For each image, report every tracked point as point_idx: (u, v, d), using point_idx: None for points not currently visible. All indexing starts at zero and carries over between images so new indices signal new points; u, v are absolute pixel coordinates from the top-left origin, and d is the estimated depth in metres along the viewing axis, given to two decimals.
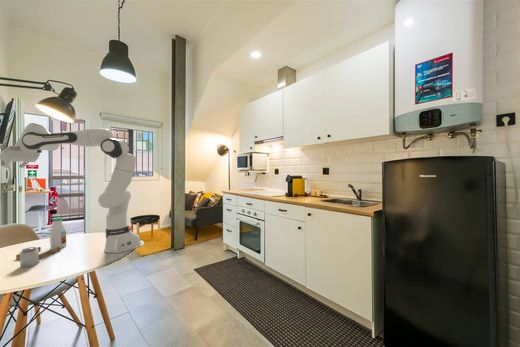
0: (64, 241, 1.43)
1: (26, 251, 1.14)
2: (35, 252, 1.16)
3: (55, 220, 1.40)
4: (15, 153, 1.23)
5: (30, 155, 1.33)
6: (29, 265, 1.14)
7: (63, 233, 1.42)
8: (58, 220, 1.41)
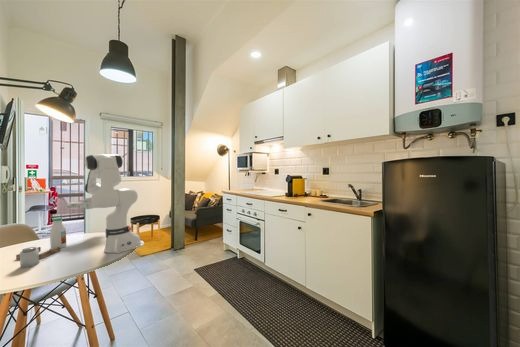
0: (64, 241, 1.43)
1: (26, 251, 1.14)
2: (35, 252, 1.16)
3: (55, 220, 1.40)
4: (77, 202, 1.64)
5: None
6: (29, 265, 1.14)
7: (63, 233, 1.42)
8: (58, 220, 1.41)
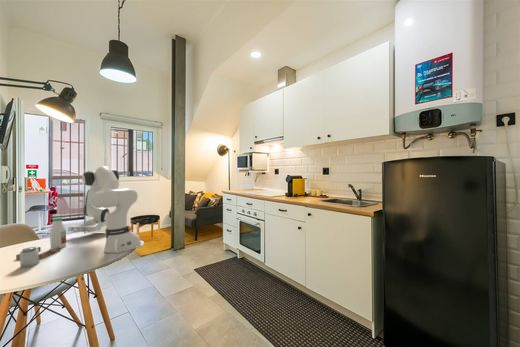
0: (64, 241, 1.43)
1: (26, 251, 1.14)
2: (35, 252, 1.16)
3: (55, 220, 1.40)
4: (78, 225, 1.65)
5: (90, 225, 1.64)
6: (29, 265, 1.14)
7: (63, 233, 1.42)
8: (58, 220, 1.41)
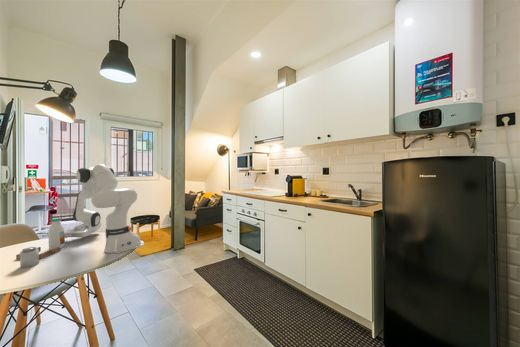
0: (62, 242, 1.42)
1: (26, 251, 1.14)
2: (35, 252, 1.16)
3: (53, 220, 1.39)
4: (67, 230, 1.55)
5: (79, 230, 1.54)
6: (29, 265, 1.14)
7: (62, 233, 1.41)
8: (57, 220, 1.40)
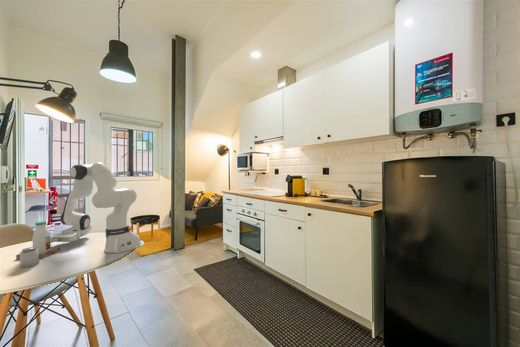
0: (48, 247, 1.33)
1: (26, 251, 1.14)
2: (35, 252, 1.16)
3: (38, 224, 1.30)
4: (54, 234, 1.46)
5: (67, 234, 1.45)
6: (29, 265, 1.14)
7: (47, 238, 1.32)
8: (42, 224, 1.31)
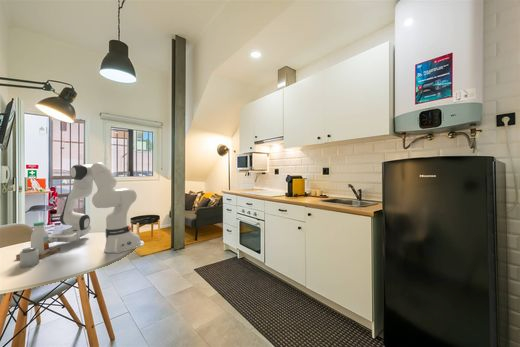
0: (46, 247, 1.32)
1: (26, 251, 1.14)
2: (35, 252, 1.16)
3: (37, 225, 1.29)
4: (54, 234, 1.46)
5: (67, 235, 1.45)
6: (29, 265, 1.14)
7: (46, 239, 1.31)
8: (40, 225, 1.30)
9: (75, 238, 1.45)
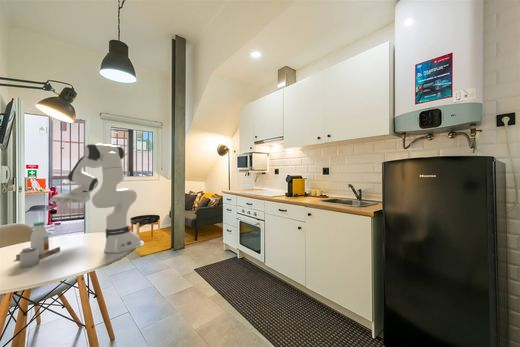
0: (46, 247, 1.32)
1: (26, 251, 1.14)
2: (35, 252, 1.16)
3: (37, 225, 1.29)
4: (63, 194, 1.52)
5: (79, 195, 1.53)
6: (29, 265, 1.14)
7: (46, 239, 1.31)
8: (40, 225, 1.30)
9: (88, 199, 1.55)
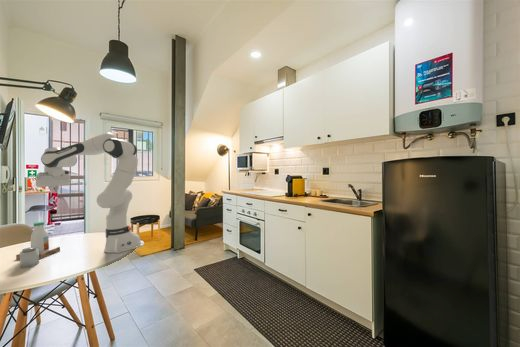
0: (46, 247, 1.32)
1: (26, 251, 1.14)
2: (35, 252, 1.16)
3: (37, 225, 1.29)
4: (46, 178, 1.35)
5: (62, 178, 1.46)
6: (29, 265, 1.14)
7: (46, 239, 1.31)
8: (40, 225, 1.30)
9: None
